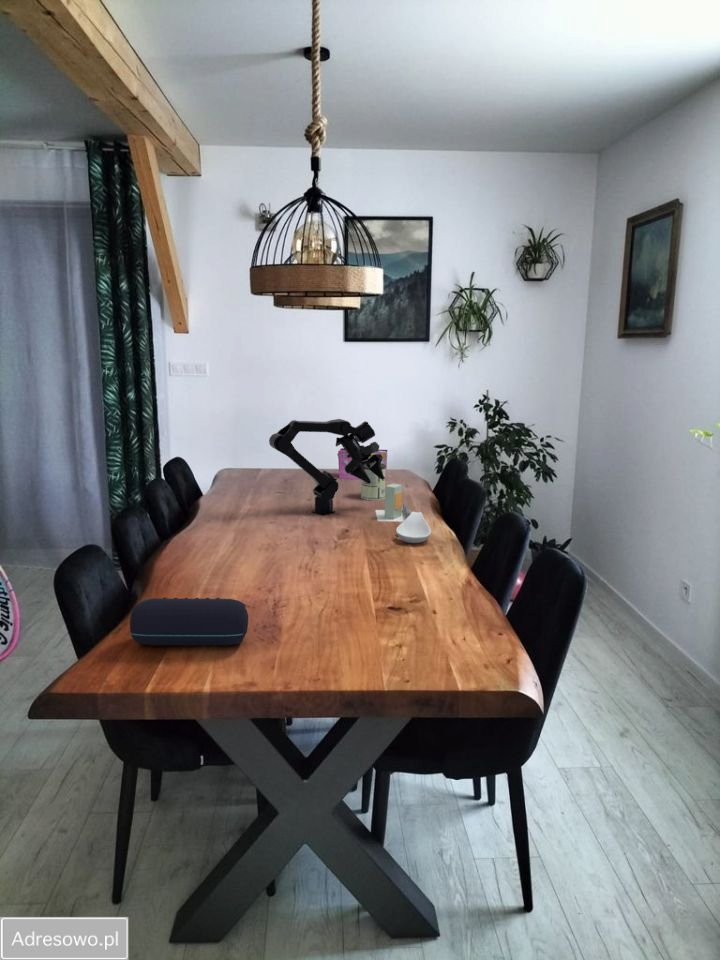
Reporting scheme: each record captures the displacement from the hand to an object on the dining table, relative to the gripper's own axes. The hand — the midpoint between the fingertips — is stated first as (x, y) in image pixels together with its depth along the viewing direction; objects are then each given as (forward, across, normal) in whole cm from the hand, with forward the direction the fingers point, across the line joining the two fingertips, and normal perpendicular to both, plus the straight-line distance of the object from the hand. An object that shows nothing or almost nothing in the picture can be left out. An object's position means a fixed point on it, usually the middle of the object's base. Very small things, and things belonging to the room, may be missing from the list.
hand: (376, 480), depth 250 cm
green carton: (+14, 0, +4) cm, 15 cm away
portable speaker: (+28, -114, -8) cm, 118 cm away
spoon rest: (+27, -13, -7) cm, 31 cm away
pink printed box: (-20, +55, +40) cm, 71 cm away
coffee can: (-2, +24, +21) cm, 32 cm away
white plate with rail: (+14, +2, +5) cm, 15 cm away
